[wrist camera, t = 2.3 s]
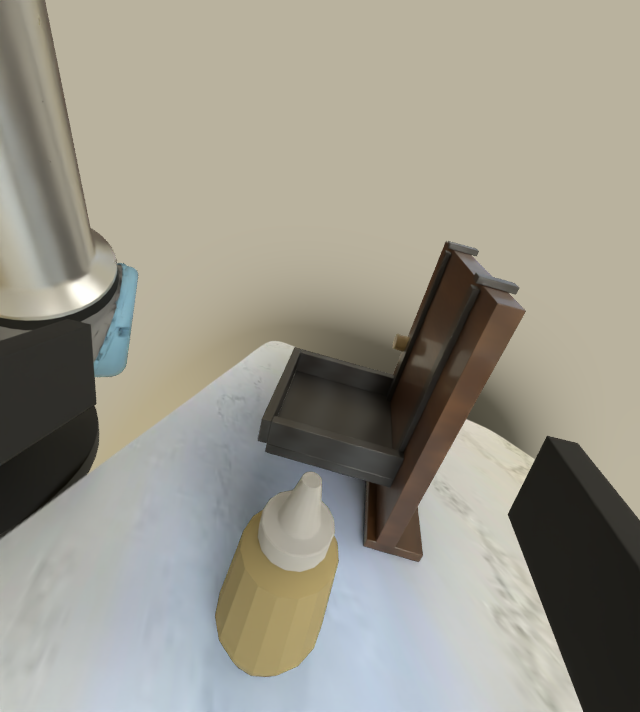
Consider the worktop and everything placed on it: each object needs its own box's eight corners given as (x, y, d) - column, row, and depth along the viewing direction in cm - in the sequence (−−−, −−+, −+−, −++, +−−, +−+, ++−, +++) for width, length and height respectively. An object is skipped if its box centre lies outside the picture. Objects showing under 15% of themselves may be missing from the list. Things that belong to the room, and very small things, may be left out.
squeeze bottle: (269, 729, 25) (337, 583, 16) (187, 642, 28) (207, 481, 19) (329, 623, 31) (401, 478, 23) (257, 562, 34) (296, 413, 26)
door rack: (238, 510, 38) (291, 236, 25) (285, 394, 58) (330, 203, 44) (419, 562, 38) (574, 314, 24) (405, 428, 57) (488, 247, 44)
